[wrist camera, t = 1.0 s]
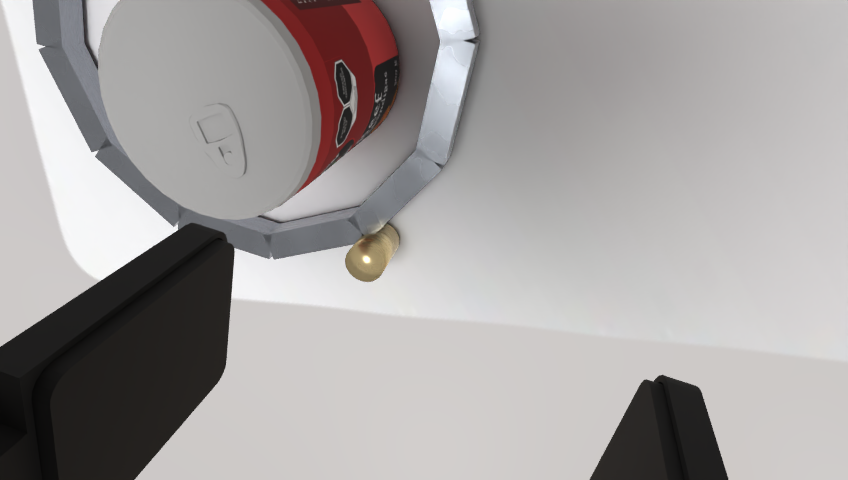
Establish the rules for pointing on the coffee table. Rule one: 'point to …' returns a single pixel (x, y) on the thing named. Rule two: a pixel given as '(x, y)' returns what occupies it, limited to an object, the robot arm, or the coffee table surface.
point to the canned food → (244, 94)
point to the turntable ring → (359, 226)
